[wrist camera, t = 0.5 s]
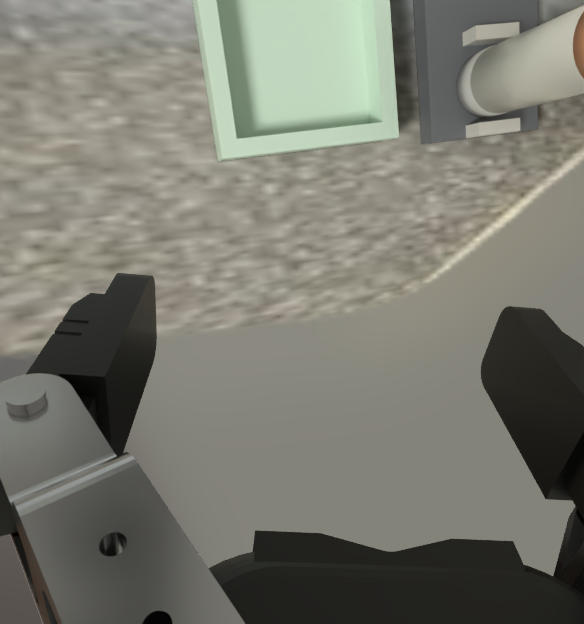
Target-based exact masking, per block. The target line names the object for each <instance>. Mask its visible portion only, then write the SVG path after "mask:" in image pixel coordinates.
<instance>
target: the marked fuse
mask: <svg viewBox="0 0 584 624" xmlns="http://www.w3.org/2000/svg"><path fill="white" fill-rule="evenodd" d="M457 94H458V98H459V101H460V103H461V105H462V106H463V108H464V109H465V110H466V111H467V112H468V113H470V114H471V115H473V116H475V117H479V118H487V117H491V116H496V115H500V114H504V113H507V112H509V111H513V110H517V109H522V108H526V107H530V106H534V105H538V104H543V103H547V102H551V101H555V100H560V99H564V98H568V97H572V96H576V95H581V94H584V5H583V6H580V7H578V8H576V9H574V10H572V11H569V12H567V13H565V14H563V15H561V16H558V17H556V18H554V19H552V20H549V21H547V22H545V23H543V24H541V25H538V26H536V27H534V28H532V29H530V30H527V31H525V32H523V33H521V34H519V35H516V36H514V37H512V38H510V39H507V40H505V41H503V42H501V43H499V44H496V45H493V46H490V47H488V48H486V49H483V50H481V51H479V52H477V53H475V54H473V55H472V56H470V57H469V58H468V59H467V60H466V61H465V62H464V64H463V65H462V67H461V69H460V71H459V74H458V78H457Z"/></svg>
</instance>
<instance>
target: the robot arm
mask: <svg viewBox="0 0 584 624" xmlns="http://www.w3.org/2000/svg"><path fill="white" fill-rule="evenodd" d="M156 339H157V333H156V302H155V282H154V278H153V276H148V275H136V274H124V273H118V274H116V276H115V278H114V279H113V281H112V283H111V284H110V286H109V288H108V290H107V291H106V293H105V294H95V293H90V294H89V295H87V296H85V297H84V298H82V299H81V300H79V301H78V302H76V303H74V304H73V305H72V306H71V308H70V309H69V311H68V312H67V314H66V315H65V317H64V318H63V322H61V323H60V324H59V326H58V327H57V329H56V330H55V334H53V335H52V336H51V338H50V339H49V341H48V342H47V344H46V345H45V346H44V348H43V349H42V351H41V352H40V354H39V355H38V357H37V358H36V360H35V362H34V363H33V365H32V366H31V367H30V369H29V370H28V372H27V373H26V375H21V376H17V377H13V378H10V379H7V380H5V381H3V382H1V383H0V536H3V535H7V534H10V536H11V539H12V541H13V544H14V547H15V549H16V552H17V555H18V557H19V560H20V563H21V565H22V568H23V571H24V574H25V576H26V579H27V582H28V584H29V587H30V590H31V592H32V595H33V598H34V600H35V603H36V606H37V608H38V611H39V614H40V616H41V619H42V622H43V624H584V347H583V346H582V345H581V344H580V343H578V342H577V341H575V340H573V339H572V338H571V337H569V336H568V335H566V334H565V333H563V332H562V331H561V330H560V328H558V326H557V325H556V324H555V323H554V322H553V321H552V319H551V318H550V317H549V316H548V315H547V314H546V313H545V312H544V311H543V310H541V309H535V308H523V307H510V306H509V307H506V308H505V309H504V310H503V311H502V312H501V314H500V316H499V319H498V321H497V324H496V327H495V329H494V332H493V334H492V337H491V340H490V342H489V345H488V348H487V350H486V353H485V355H484V358H483V361H482V366H481V379H482V383H483V386H484V388H485V390H486V392H487V393H488V395H489V397H490V399H491V401H492V402H493V404H494V406H495V408H496V410H497V412H498V413H499V415H500V417H501V419H502V421H503V422H504V424H505V426H506V428H507V430H508V431H509V433H510V435H511V437H512V439H513V441H514V442H515V444H516V446H517V448H518V450H519V451H520V453H521V455H522V457H523V459H524V460H525V462H526V464H527V466H528V468H529V470H530V471H531V473H532V475H533V477H534V479H535V480H536V482H537V484H538V486H539V488H540V489H541V491H542V493H543V495H544V497H545V499H555V500H573V502H574V504H575V505H576V506H575V508H574V509H573V511H572V512H571V514H570V516H569V518H568V521H567V525H566V529H565V533H564V537H563V541H562V544H561V548H560V552H559V556H558V560H557V563H556V567H555V571H554V575H553V576H551V575H549V574H547V573H545V572H542V571H539V570H537V569H534V568H532V567H529V566H526V565H523V563H522V560H521V558H520V556H519V554H518V551H517V549H516V547H515V545H514V543H513V541H492V540H468V539H449V540H444V541H440V542H436V543H431V544H427V545H423V546H419V547H414V548H410V549H405V550H401V551H396V552H386V551H382V550H379V549H375V548H371V547H368V546H364V545H360V544H357V543H353V542H349V541H346V540H343V539H339V538H335V537H332V536H328V535H324V534H321V533H300V532H276V531H255V536H254V545H253V552H251V553H246V554H243V555H239V556H236V557H234V558H231V559H228V560H225V561H222V562H220V563H219V564H216V565H214V566H212V567H210V568H208V567H207V566H206V564H205V563H204V561H203V560H202V558H201V557H200V555H199V554H198V552H197V551H196V549H195V548H194V546H193V545H192V543H191V542H190V540H189V539H188V537H187V536H186V534H185V533H184V532H183V530H182V528H181V527H180V525H179V524H178V522H177V521H176V519H175V518H174V516H173V515H172V513H171V512H170V511H169V509H168V507H167V506H166V504H165V503H164V501H163V500H162V498H161V497H160V495H159V494H158V492H157V491H156V489H155V488H154V486H153V485H152V483H151V482H150V480H149V479H148V477H147V476H146V474H145V473H144V472H143V470H142V468H141V467H140V465H139V464H138V462H137V461H136V460H135V459H134V457H133V456H132V455H131V454H129V453H123V451H124V448H125V445H126V442H127V439H128V436H129V433H130V430H131V427H132V424H133V421H134V418H135V415H136V412H137V409H138V406H139V404H140V400H141V398H142V395H143V392H144V388H145V386H146V383H147V379H148V377H149V374H150V370H151V368H152V364H153V361H154V357H155V351H156Z"/></svg>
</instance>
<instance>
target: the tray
mask: <svg viewBox="0 0 584 624" xmlns="http://www.w3.org/2000/svg"><path fill="white" fill-rule="evenodd" d="M192 2H193V9H194V15H195V21H196V28H197V34H198V40H199V46H200V53H201V59H202V65H203V72H204V78H205V84H206V90H207V97H208V103H209V109H210V116H211V122H212V128H213V134H214V141H215V147H216V153H217V160H218V162H221V161H229V160H237V159H246V158H254V157H262V156H270V155H278V154H286V153H294V152H302V151H311V150H319V149H327V148H335V147H343V146H351V145H359V144H367V143H376V142H382V141H386V140H390V139H395V138H399V129H398V115H397V100H396V85H395V70H394V56H393V41H392V26H391V12H390V0H192Z"/></svg>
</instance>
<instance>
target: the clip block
mask: <svg viewBox="0 0 584 624" xmlns="http://www.w3.org/2000/svg"><path fill="white" fill-rule="evenodd" d="M413 9H414V26H415V44H416V61H417V79H418V96H419V114H420V131H421V145H422V144H430V143H437V142H445V141H453V140H461V139H469V138H477V137H485V136H493V135H501V134H509V133H517V132H524V131H530V130H536V129H538V105H534V106H530V107H526V108H522V109H517V110H513V111H509V112H507V113H504V114H500V115H496V116H491V117H487V118H479V117H475V116H473V115H471V114H470V113H468V112H467V111H466V110H465V109H464V108H463V106H462V105H461V103H460V101H459V98H458V94H457V78H458V74H459V71H460V69H461V67H462V65H463V64H464V62H465V61H466V60H467V59H468V58H469V57H470V56H472V55H473V54H475V53H477V52H479V51H481V50H483V49H486V48H488V47H490V46H493V45H496V44H499V43H501V42H503V41H505V40H507V39H510V38H512V37H514V36H516V35H519V34H521V33H523V32H525V31H527V30H530V29H532V28H534V27H536V26H538V0H413Z"/></svg>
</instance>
